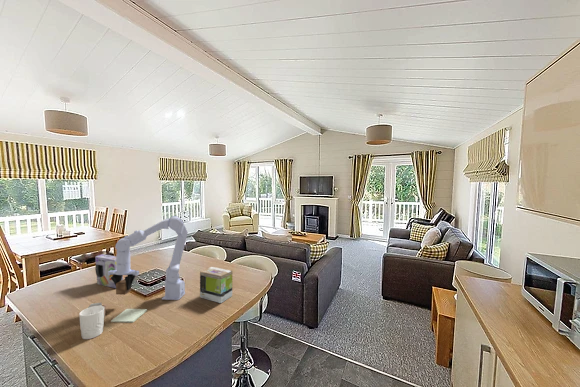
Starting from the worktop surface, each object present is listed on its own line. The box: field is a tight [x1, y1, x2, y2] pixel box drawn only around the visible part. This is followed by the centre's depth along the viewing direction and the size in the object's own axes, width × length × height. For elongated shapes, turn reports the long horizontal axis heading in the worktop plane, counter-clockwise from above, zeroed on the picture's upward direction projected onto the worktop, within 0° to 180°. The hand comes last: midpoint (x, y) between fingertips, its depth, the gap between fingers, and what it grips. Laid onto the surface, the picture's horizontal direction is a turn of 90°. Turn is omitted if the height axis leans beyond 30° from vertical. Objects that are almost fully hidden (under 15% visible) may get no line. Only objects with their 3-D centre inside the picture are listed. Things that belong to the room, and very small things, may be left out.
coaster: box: [110, 308, 148, 324], centre depth 110 cm, size 10×10×1 cm
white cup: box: [78, 305, 105, 340], centre depth 96 cm, size 8×8×10 cm
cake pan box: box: [94, 254, 124, 289], centre depth 141 cm, size 19×5×18 cm, turn 68°
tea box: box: [199, 266, 233, 304], centre depth 129 cm, size 15×10×15 cm, turn 65°
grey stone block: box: [87, 302, 102, 308], centre depth 112 cm, size 4×4×4 cm
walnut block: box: [115, 279, 132, 296], centre depth 118 cm, size 4×4×6 cm
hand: (123, 289), depth 118 cm, fingers closed on walnut block, 4 cm apart
